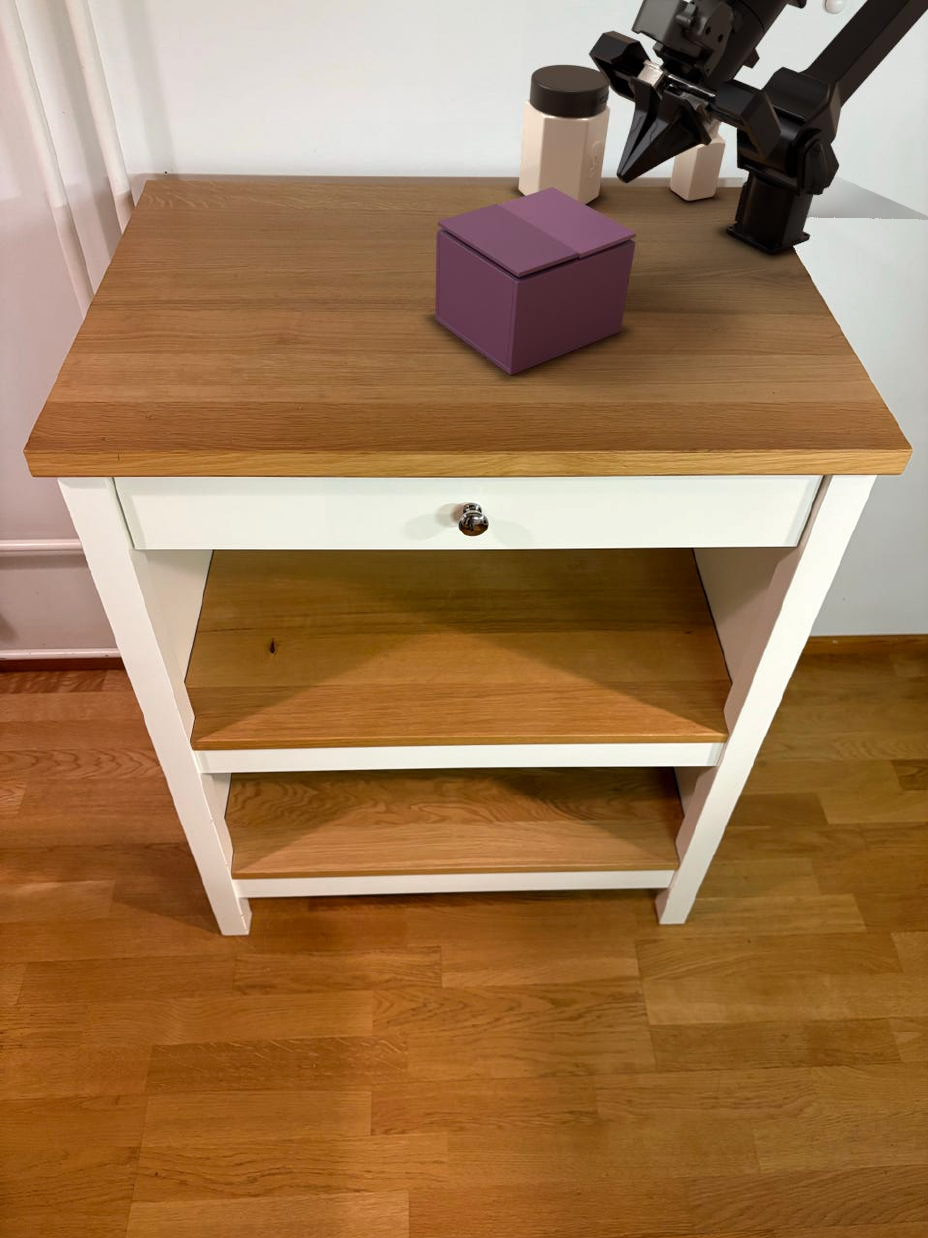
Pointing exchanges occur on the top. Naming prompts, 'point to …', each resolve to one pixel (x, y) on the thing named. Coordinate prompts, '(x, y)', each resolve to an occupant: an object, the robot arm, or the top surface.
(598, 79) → the jar
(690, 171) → the pepper shaker
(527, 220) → the lid
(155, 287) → the top surface
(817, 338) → the top surface
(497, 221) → the box
